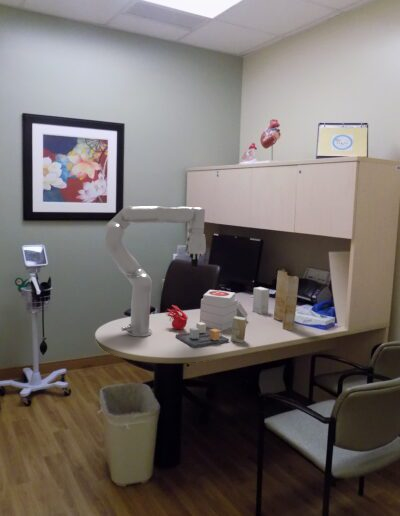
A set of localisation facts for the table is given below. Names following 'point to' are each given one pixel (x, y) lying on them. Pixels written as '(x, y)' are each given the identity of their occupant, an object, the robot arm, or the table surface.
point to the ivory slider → (201, 327)
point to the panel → (201, 339)
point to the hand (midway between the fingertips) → (194, 266)
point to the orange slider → (214, 334)
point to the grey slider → (194, 333)
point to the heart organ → (177, 318)
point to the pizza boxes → (220, 309)
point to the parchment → (286, 299)
